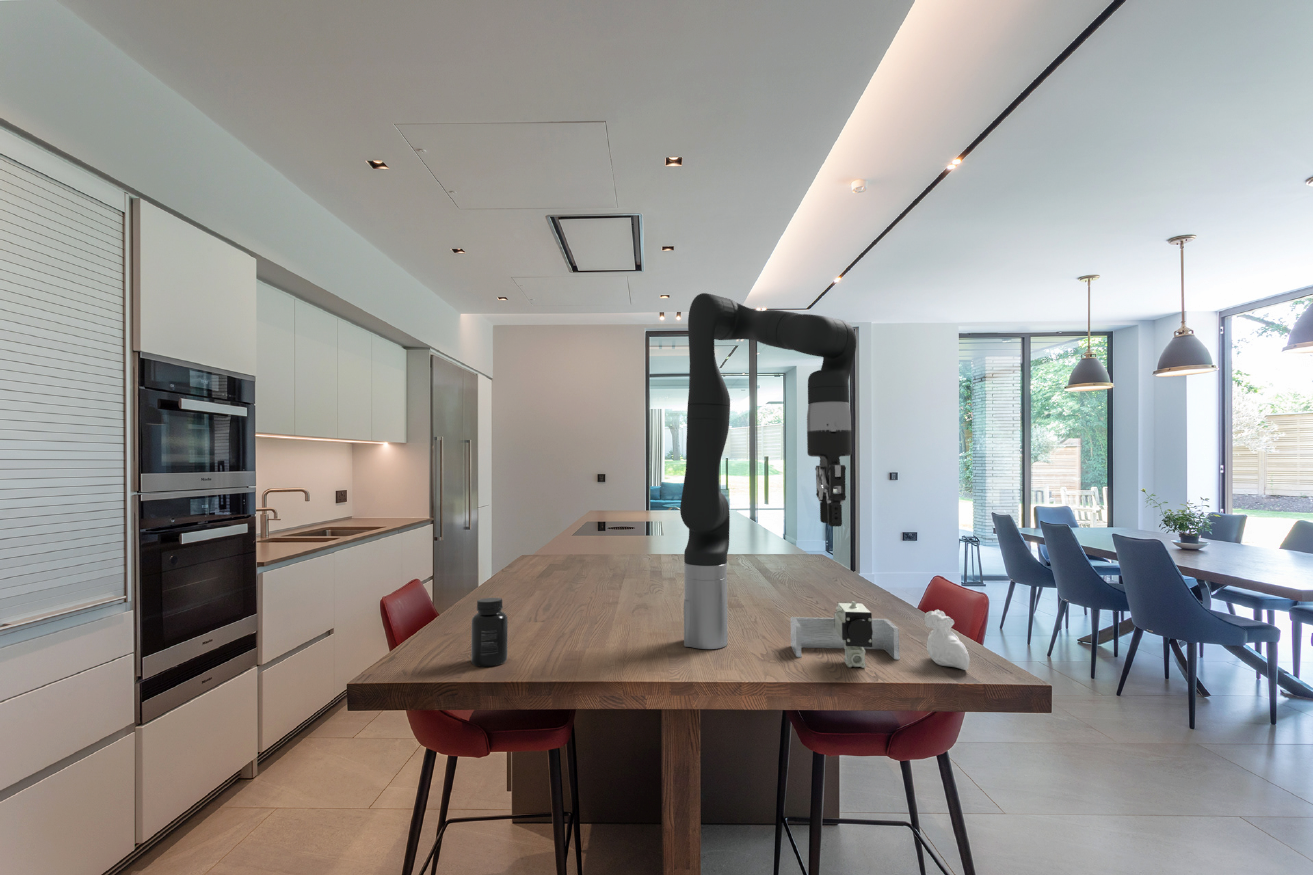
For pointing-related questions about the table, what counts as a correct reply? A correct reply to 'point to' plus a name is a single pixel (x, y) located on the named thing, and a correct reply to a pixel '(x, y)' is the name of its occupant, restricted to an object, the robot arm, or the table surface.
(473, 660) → the supplement bottle
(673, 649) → the table surface
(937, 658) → the bust
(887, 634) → the cradle
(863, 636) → the pneumatic valve
